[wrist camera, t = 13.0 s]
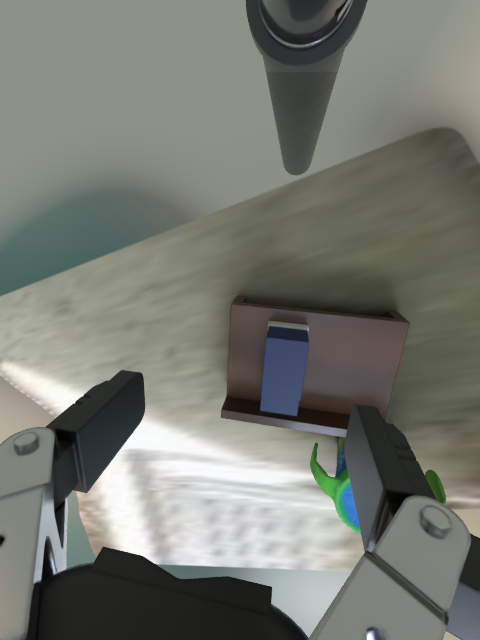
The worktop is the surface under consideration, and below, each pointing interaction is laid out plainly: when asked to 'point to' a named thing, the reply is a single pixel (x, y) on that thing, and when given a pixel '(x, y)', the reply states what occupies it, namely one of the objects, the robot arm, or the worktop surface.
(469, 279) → the worktop surface
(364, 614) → the robot arm
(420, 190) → the worktop surface
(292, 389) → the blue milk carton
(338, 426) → the wooden display stand
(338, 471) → the snack cup
